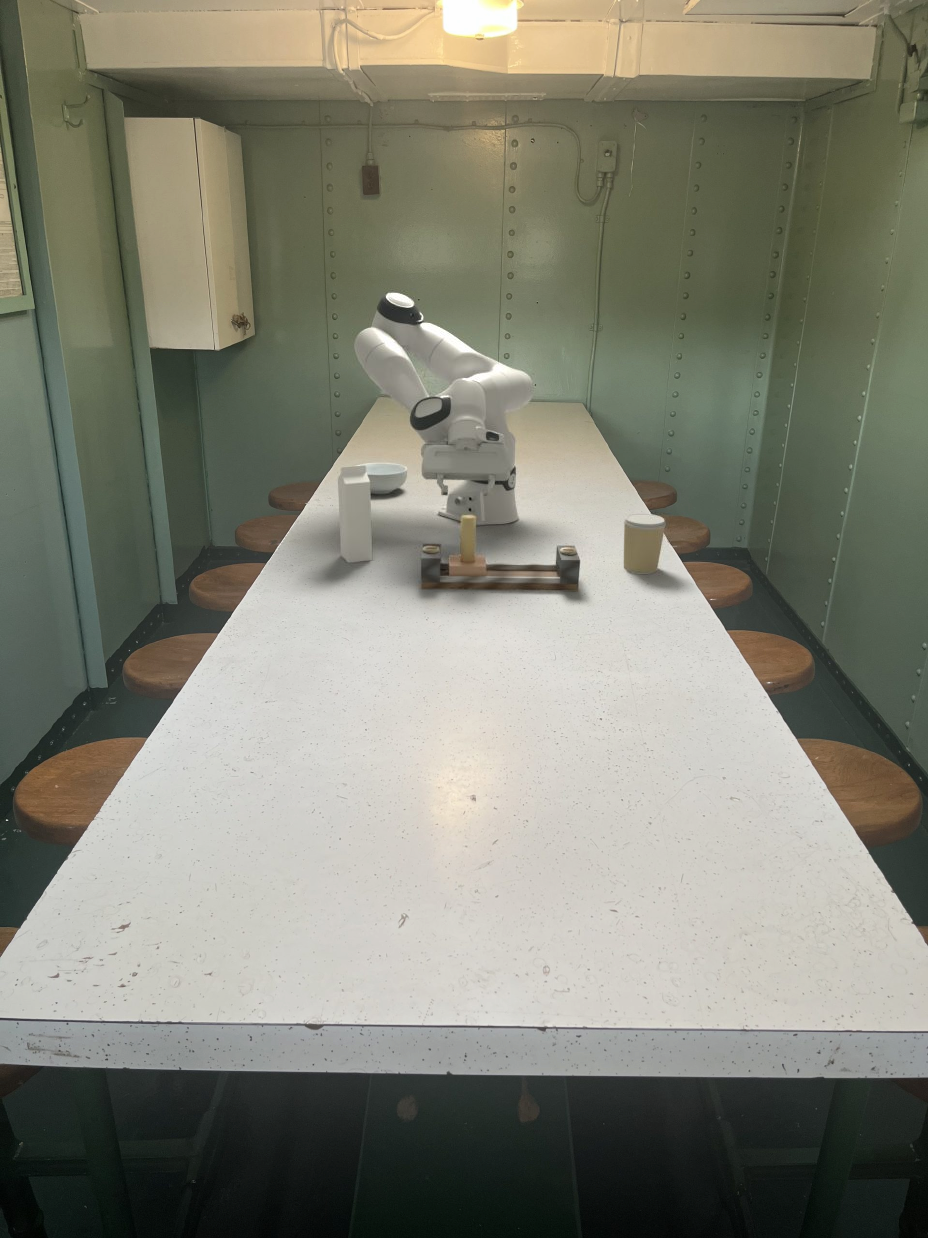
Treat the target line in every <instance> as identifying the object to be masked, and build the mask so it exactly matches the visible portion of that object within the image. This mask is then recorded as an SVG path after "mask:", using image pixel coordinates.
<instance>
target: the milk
mask: <svg viewBox="0 0 928 1238" xmlns="http://www.w3.org/2000/svg"><path fill="white" fill-rule="evenodd" d="M337 489H338V513H339V515H338V516H339V517H338V518H339V535H340V536H339V538H340V542H339V543H340V556H341V557H342V558H343V559H344V560H345V562H347V563H348V564H350V563H351V564H352V563H360V562H367V561H373V541H372V540H373V539H372V533H373V532H372V508H371V507H372V502H371V501H372V499H371V498H372V497H371V493H370V480H369V478H368V475H367V473H366V466H365V465H362V466H357V465H353V466H341V468H340V475H339V476H338V477H337Z"/></svg>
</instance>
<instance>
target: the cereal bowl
mask: <svg viewBox="0 0 928 1238" xmlns="http://www.w3.org/2000/svg"><path fill="white" fill-rule="evenodd" d="M362 465H365V466H366V473H367V475H368V478H369V480H370V494H371V493H372V494H373V495H384V494H386V495H387V494H390V492H391V493H392V492H393V491H394V490H397V489H399V488H401V487H402V486H404V484H405V483H406V480H407V478H408V467H407V466H405V465H403V464H398V463H394V462H392V463H391V462H370V463H362V464H358V465H356V466H362ZM372 494H371V495H372Z"/></svg>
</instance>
